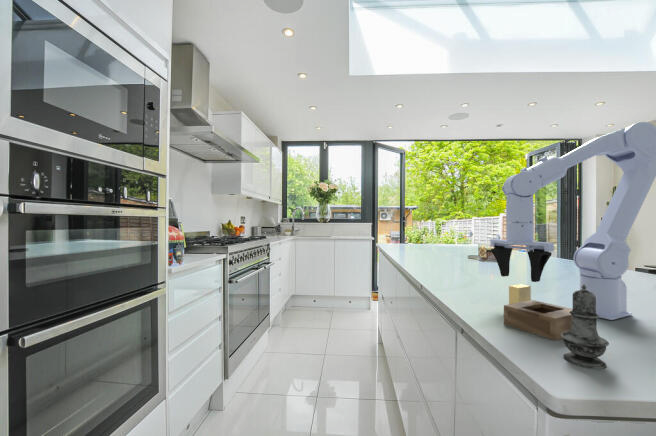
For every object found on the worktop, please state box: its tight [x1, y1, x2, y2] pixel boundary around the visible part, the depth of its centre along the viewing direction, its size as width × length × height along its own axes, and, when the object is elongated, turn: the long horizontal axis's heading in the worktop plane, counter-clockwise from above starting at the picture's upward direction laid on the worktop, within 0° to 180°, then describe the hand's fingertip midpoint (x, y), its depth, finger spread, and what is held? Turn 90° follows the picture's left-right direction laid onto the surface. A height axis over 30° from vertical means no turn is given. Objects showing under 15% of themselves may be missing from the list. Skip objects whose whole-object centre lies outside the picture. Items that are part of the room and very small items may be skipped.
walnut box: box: [503, 299, 573, 341], centre depth 65 cm, size 10×10×4 cm
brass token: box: [508, 283, 532, 304], centre depth 78 cm, size 4×2×6 cm, turn 116°
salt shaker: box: [561, 285, 610, 370], centre depth 50 cm, size 6×6×12 cm
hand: (519, 278), depth 78 cm, fingers open, 7 cm apart
